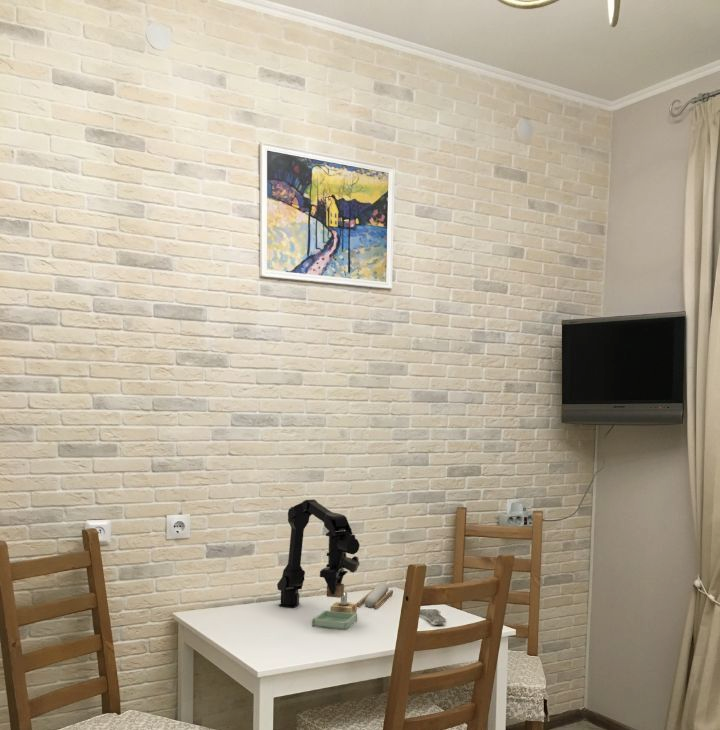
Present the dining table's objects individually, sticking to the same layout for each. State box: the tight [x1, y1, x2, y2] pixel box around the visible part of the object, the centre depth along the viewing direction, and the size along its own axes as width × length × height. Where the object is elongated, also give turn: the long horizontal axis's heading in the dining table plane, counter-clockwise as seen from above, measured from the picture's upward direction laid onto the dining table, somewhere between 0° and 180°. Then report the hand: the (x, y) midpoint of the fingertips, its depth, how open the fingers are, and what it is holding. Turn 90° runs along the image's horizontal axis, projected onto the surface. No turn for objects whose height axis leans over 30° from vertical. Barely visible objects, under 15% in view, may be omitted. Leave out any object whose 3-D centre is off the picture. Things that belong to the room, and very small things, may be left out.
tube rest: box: [356, 588, 394, 610], centre depth 321 cm, size 8×26×2 cm, turn 163°
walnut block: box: [326, 583, 345, 599], centre depth 287 cm, size 5×5×4 cm
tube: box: [364, 581, 389, 608], centre depth 321 cm, size 5×5×25 cm
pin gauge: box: [340, 591, 348, 606], centre depth 300 cm, size 2×2×8 cm
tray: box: [311, 609, 358, 631], centre depth 286 cm, size 13×13×2 cm
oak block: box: [330, 600, 358, 614], centre depth 300 cm, size 8×8×4 cm
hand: (335, 592), depth 287 cm, fingers closed on walnut block, 5 cm apart
